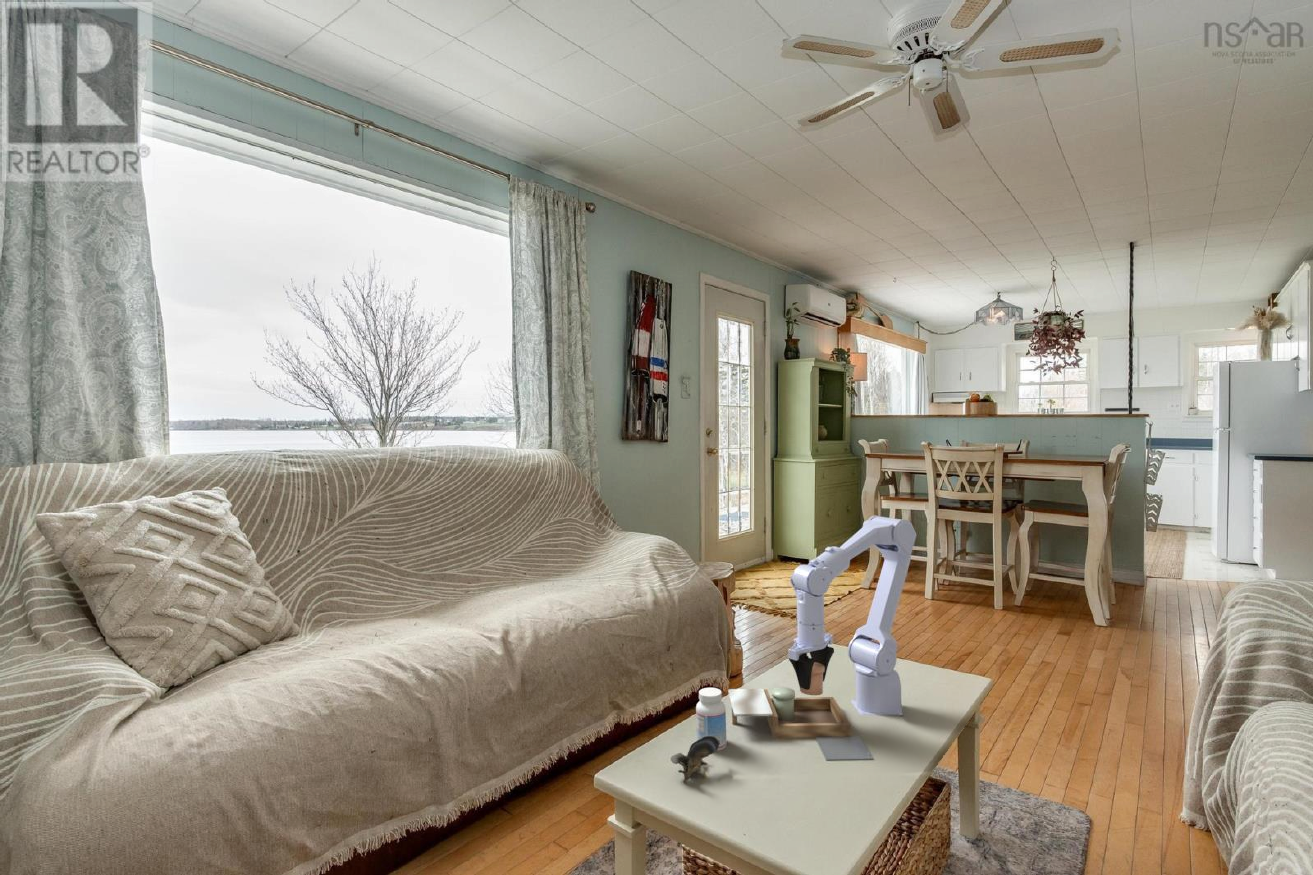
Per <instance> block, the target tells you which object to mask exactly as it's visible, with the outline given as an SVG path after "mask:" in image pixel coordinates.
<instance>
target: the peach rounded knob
mask: <svg viewBox="0 0 1313 875" xmlns="http://www.w3.org/2000/svg"><path fill="white" fill-rule="evenodd" d="M824 671H825V666H824V665H822V664H820V663H816V662H814V665H813V668H812V673H811V685H810V689H809V690H806V689H803V688H800V687H799V691H800V693H802V694H804V695H808V696H821V695H822V694H823V693H824V691H823V690H824V682H823V673H824Z"/></svg>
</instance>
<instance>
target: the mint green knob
mask: <svg viewBox="0 0 1313 875" xmlns="http://www.w3.org/2000/svg"><path fill="white" fill-rule="evenodd" d="M771 696H772V698H774V708H775V710H776V713H777V715H778V719H779V720H791V719H793V718H794V698H796V691H795V690H794V689H793V688H790V687H787V686H786V687H785V686H779V687H778V686H777V687H774V688H773V689H772V690H771Z"/></svg>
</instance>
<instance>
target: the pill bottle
mask: <svg viewBox="0 0 1313 875" xmlns="http://www.w3.org/2000/svg"><path fill="white" fill-rule="evenodd" d="M722 699H723V694H722V690H721V689H719V688H716V687H704V688H701V689H700V690H699V691H698V700H699V701H698V702H697V703H696V706H695V715H696V716H695V717H696V719H695V722H696V741H698V740H700V739H701V738H703V737H705V736H706V737H707V736H712V737H713V736H714V738H716V739H717V740H718V742H719V747H718V748H717V749H718V750H717V751H716V752H718V751H721V750H723V749H725V748H726V746H727V716H726V714H727V712H726V705H725V703H724V702H723V701H722Z"/></svg>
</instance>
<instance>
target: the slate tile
mask: <svg viewBox="0 0 1313 875" xmlns="http://www.w3.org/2000/svg"><path fill="white" fill-rule="evenodd" d="M814 738H815V741H816V743H817V745H818V746H819V749H820V751H821V752H822V755H823V757H824V759H825V761H828V762H829V761H873V760H874V758H873V756H872V755H871V753H870V752H869V749H868V748H867V747H866V745H865V744H864V742H863V741H862V739H861V737H860V736H858V735H857V736H851V737H814Z"/></svg>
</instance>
